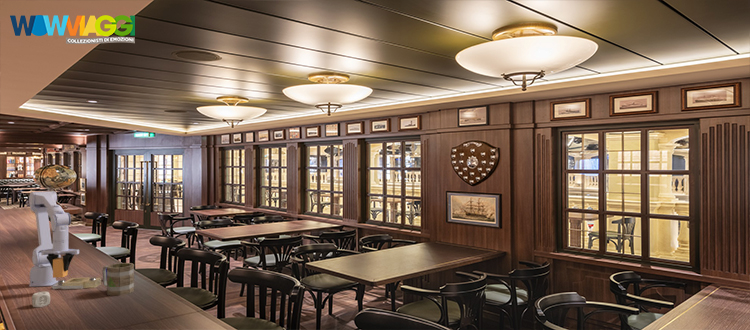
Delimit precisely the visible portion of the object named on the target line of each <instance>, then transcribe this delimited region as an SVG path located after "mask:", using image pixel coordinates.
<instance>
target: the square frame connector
mask: <svg viewBox="0 0 750 330" xmlns="http://www.w3.org/2000/svg"><path fill="white" fill-rule="evenodd" d="M57 281H58V283H56V284H54V285H52V286H51V289H52V290H83V289H94V288H95V289H96V288H97V287H99V286H100V285H102V277H89V276H88V277H72V278H69V279H67V280H65V279H59V280H57Z"/></svg>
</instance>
